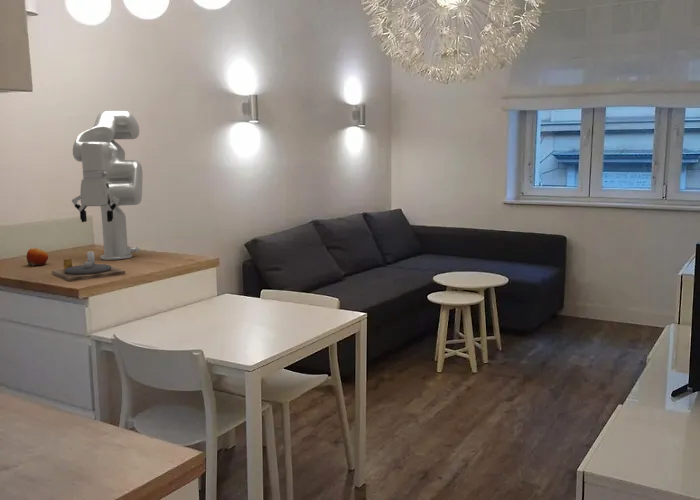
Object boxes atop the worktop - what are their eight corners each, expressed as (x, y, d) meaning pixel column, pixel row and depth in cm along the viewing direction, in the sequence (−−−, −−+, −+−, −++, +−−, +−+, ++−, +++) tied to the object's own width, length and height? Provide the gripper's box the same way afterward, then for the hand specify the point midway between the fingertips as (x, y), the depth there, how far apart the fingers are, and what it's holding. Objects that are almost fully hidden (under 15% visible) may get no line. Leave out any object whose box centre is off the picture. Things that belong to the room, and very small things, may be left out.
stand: (105, 267, 266) (104, 254, 265) (125, 274, 251) (124, 260, 250) (52, 273, 254) (50, 260, 253) (69, 281, 238) (68, 266, 237)
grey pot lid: (102, 265, 263) (101, 249, 262) (117, 270, 251) (116, 254, 250) (59, 270, 253) (57, 254, 252) (73, 276, 241) (71, 259, 240)
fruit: (18, 262, 271) (26, 244, 273) (34, 270, 277) (42, 252, 280) (29, 264, 267) (38, 245, 269) (46, 272, 273) (54, 253, 275)
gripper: (120, 174, 257) (123, 220, 259) (74, 175, 257) (78, 221, 260) (113, 175, 250) (116, 222, 252) (66, 176, 250) (69, 223, 252)
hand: (97, 221), depth 256 cm, fingers open, 9 cm apart
